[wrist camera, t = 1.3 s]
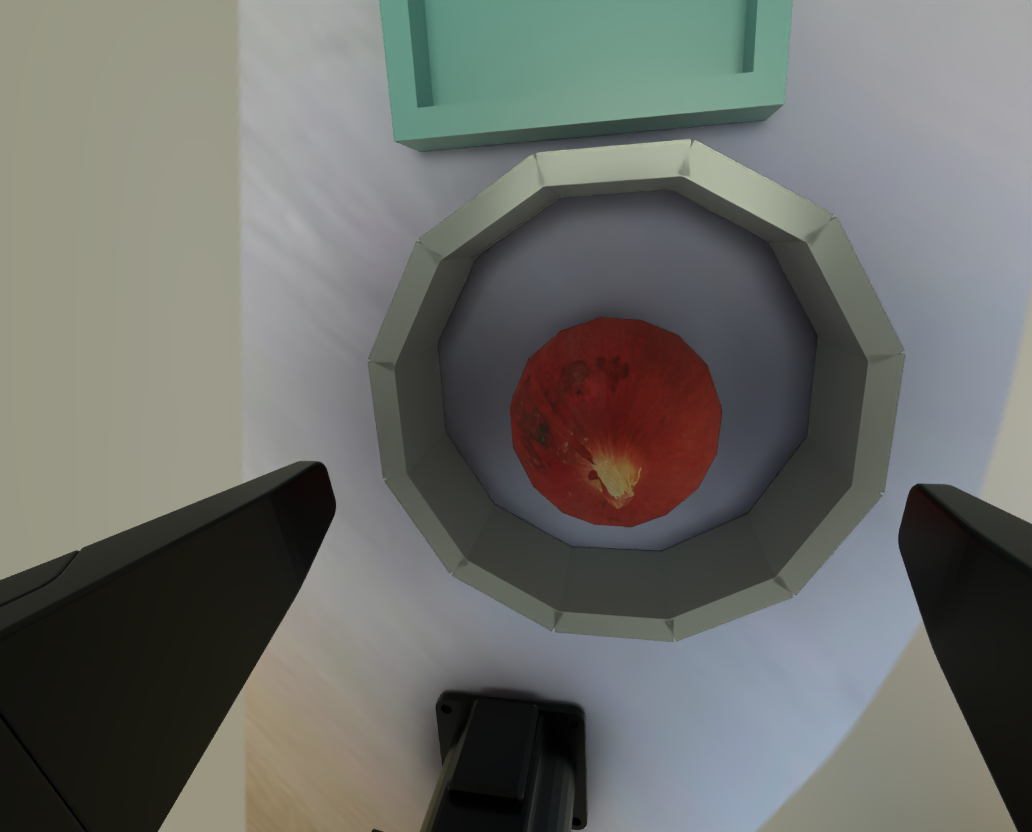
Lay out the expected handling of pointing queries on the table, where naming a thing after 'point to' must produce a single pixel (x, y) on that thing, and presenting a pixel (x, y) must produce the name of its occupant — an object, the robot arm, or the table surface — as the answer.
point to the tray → (578, 67)
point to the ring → (704, 558)
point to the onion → (616, 421)
